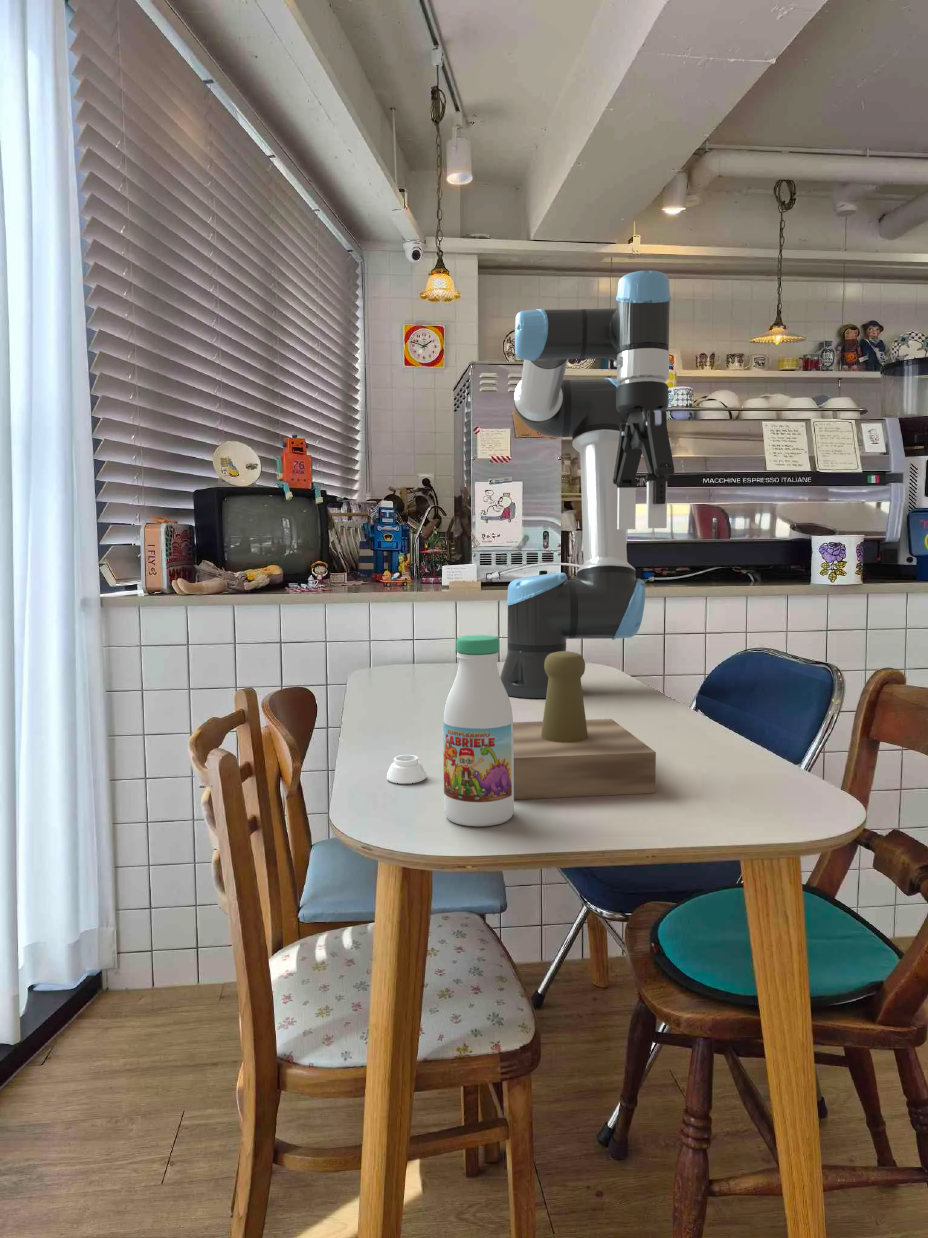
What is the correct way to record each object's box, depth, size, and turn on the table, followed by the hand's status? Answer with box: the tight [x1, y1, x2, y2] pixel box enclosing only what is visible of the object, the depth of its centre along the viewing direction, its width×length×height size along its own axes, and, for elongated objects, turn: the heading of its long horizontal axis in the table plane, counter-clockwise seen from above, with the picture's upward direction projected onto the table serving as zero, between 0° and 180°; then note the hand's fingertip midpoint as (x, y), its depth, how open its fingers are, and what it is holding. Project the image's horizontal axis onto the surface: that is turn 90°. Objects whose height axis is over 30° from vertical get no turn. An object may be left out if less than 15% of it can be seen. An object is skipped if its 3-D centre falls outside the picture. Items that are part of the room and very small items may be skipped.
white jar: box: [386, 754, 427, 785], centre depth 103 cm, size 5×3×5 cm
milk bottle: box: [442, 634, 515, 827], centre depth 88 cm, size 8×8×20 cm
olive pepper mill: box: [541, 650, 588, 742], centre depth 104 cm, size 6×6×11 cm
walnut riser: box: [513, 718, 657, 801], centre depth 104 cm, size 18×18×5 cm
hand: (640, 529), depth 121 cm, fingers open, 13 cm apart
